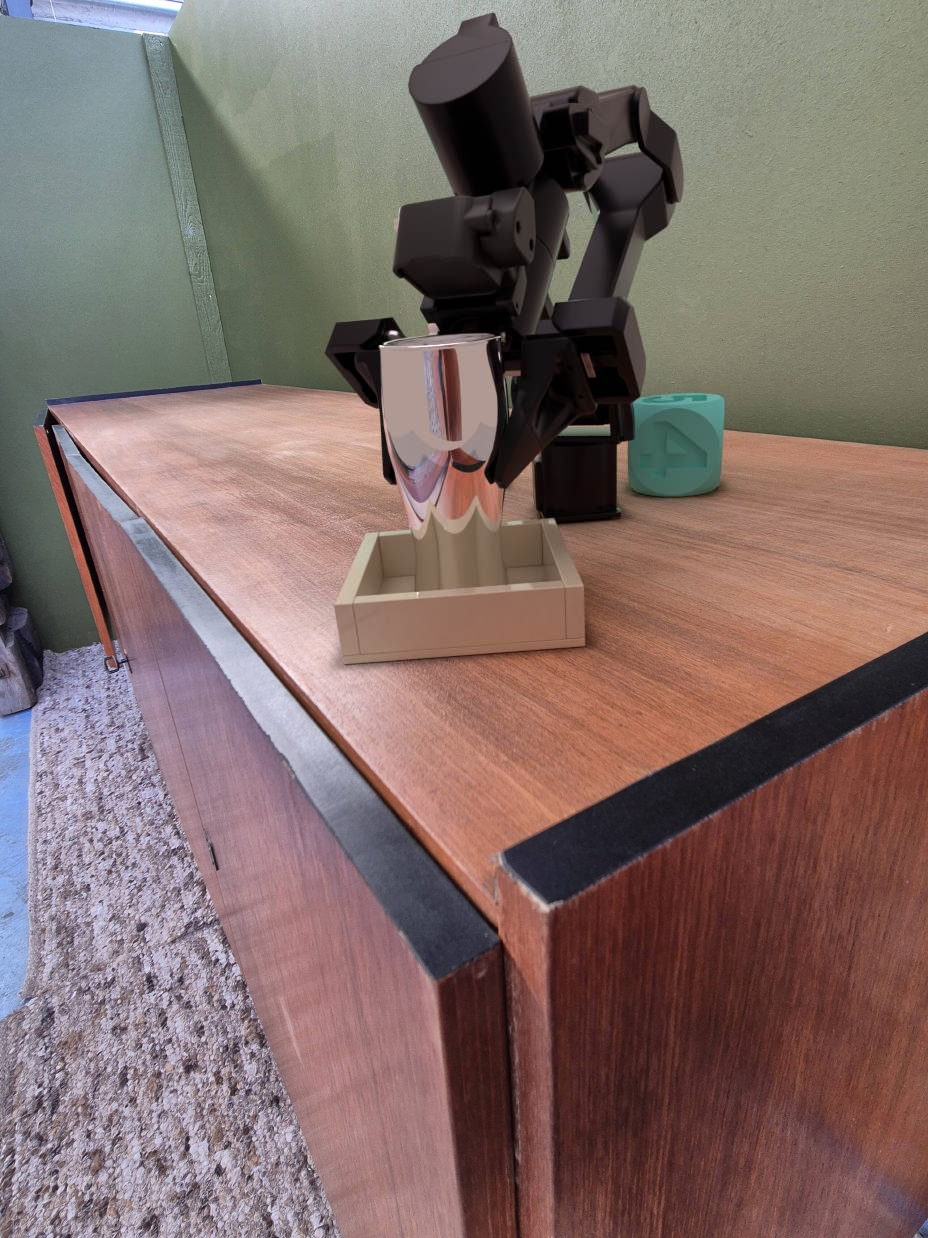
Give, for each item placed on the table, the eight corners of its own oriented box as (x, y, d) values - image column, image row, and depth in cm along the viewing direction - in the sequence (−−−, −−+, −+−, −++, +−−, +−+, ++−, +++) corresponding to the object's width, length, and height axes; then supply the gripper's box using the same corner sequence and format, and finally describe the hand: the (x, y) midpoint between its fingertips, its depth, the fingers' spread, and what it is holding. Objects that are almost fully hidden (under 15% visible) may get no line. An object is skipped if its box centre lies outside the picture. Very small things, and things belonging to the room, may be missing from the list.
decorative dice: (719, 497, 63) (725, 403, 60) (626, 497, 65) (627, 407, 62) (718, 476, 70) (723, 391, 66) (634, 477, 72) (635, 395, 69)
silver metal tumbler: (533, 580, 46) (523, 328, 39) (493, 628, 40) (474, 343, 33) (436, 571, 48) (411, 334, 42) (386, 614, 43) (348, 349, 36)
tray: (556, 566, 50) (554, 517, 48) (585, 646, 38) (584, 585, 37) (371, 580, 50) (365, 532, 49) (343, 664, 38) (333, 604, 37)
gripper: (316, 172, 41) (222, 397, 37) (635, 105, 33) (562, 385, 29) (403, 311, 51) (336, 503, 47) (667, 286, 43) (616, 517, 38)
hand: (442, 482), depth 40 cm, fingers closed on silver metal tumbler, 7 cm apart
